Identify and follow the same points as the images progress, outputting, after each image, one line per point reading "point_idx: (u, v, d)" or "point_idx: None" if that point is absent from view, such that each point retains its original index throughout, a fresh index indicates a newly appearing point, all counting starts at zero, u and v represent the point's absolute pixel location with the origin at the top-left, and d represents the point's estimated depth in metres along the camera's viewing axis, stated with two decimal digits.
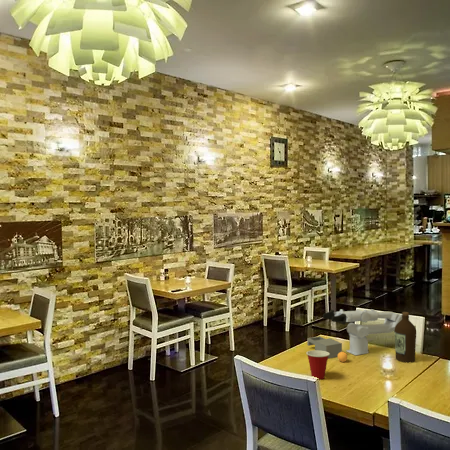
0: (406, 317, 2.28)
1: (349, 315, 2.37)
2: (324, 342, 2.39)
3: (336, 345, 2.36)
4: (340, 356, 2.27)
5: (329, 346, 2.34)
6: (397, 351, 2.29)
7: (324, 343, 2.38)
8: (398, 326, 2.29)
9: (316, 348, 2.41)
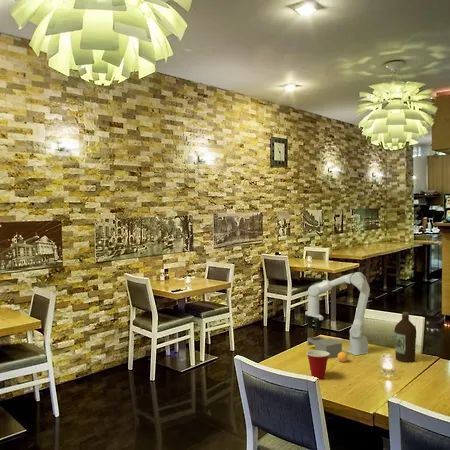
0: (406, 317, 2.28)
1: (314, 309, 2.48)
2: (324, 342, 2.39)
3: (336, 345, 2.36)
4: (340, 356, 2.27)
5: (329, 346, 2.34)
6: (397, 351, 2.29)
7: (324, 343, 2.38)
8: (398, 326, 2.29)
9: (316, 348, 2.41)
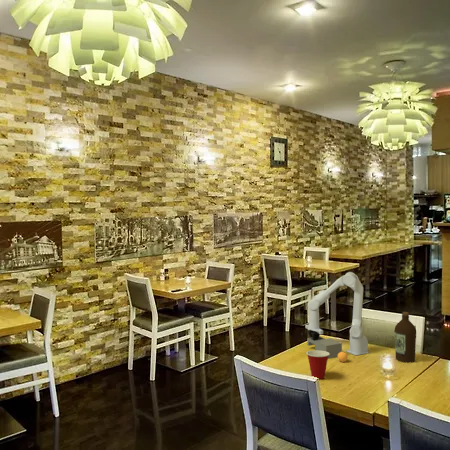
0: (406, 317, 2.28)
1: (314, 323, 2.49)
2: (324, 342, 2.39)
3: (336, 345, 2.36)
4: (340, 356, 2.27)
5: (329, 346, 2.34)
6: (397, 351, 2.29)
7: (324, 343, 2.38)
8: (398, 326, 2.29)
9: (316, 348, 2.41)
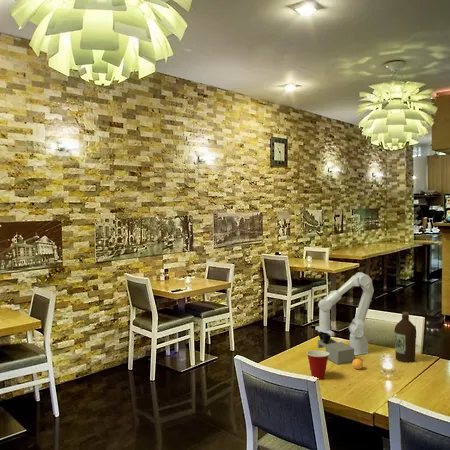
0: (406, 317, 2.28)
1: (325, 325, 2.40)
2: (336, 347, 2.30)
3: (348, 351, 2.27)
4: (353, 362, 2.19)
5: (341, 352, 2.25)
6: (397, 351, 2.29)
7: (336, 347, 2.29)
8: (398, 326, 2.29)
9: None
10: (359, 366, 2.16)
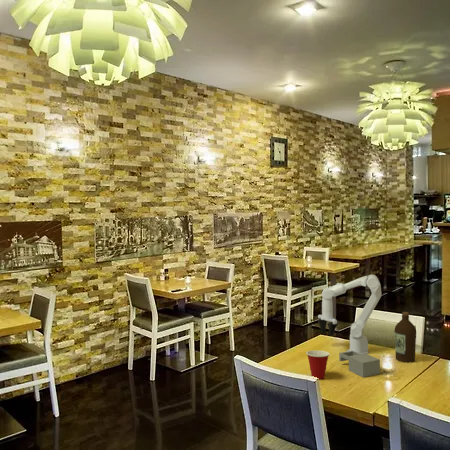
0: (406, 317, 2.28)
1: (328, 313, 2.44)
2: (359, 358, 2.13)
3: (374, 362, 2.10)
4: None
5: (366, 363, 2.08)
6: (397, 351, 2.29)
7: (359, 359, 2.12)
8: (398, 326, 2.29)
9: (350, 365, 2.15)
10: None
